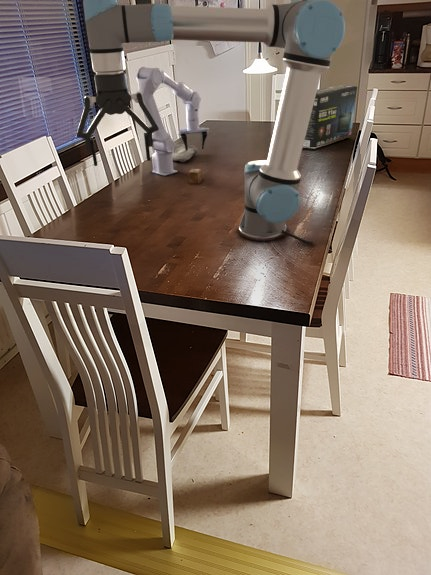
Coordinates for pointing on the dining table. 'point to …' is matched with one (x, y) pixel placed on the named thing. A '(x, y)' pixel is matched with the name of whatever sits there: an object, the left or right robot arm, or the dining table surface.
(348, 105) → the router box
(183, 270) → the dining table surface
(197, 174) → the block
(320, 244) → the dining table surface
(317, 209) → the dining table surface
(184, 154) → the fossil
